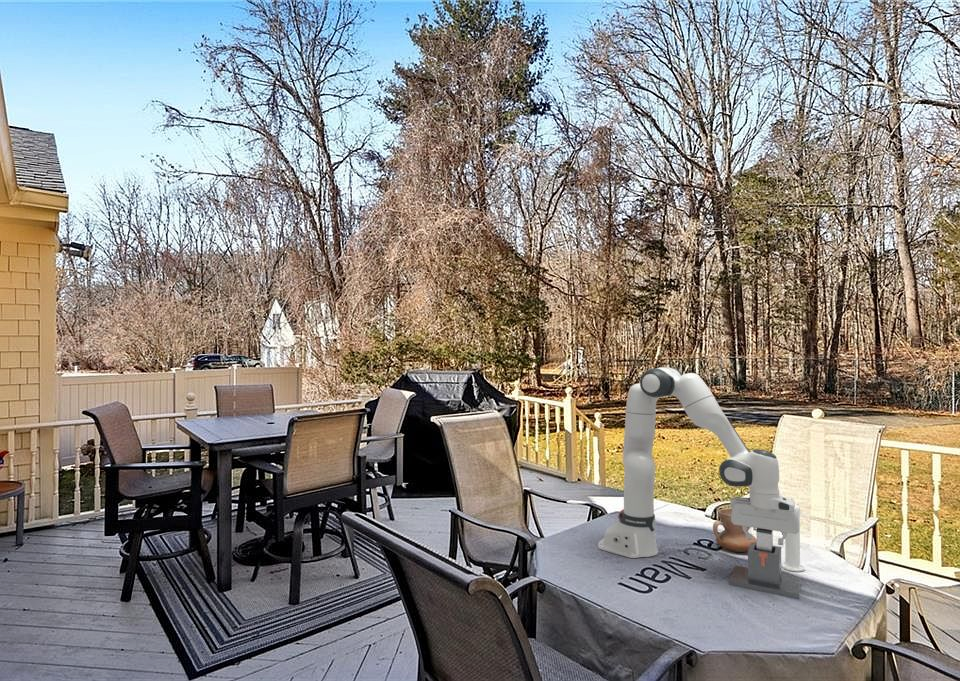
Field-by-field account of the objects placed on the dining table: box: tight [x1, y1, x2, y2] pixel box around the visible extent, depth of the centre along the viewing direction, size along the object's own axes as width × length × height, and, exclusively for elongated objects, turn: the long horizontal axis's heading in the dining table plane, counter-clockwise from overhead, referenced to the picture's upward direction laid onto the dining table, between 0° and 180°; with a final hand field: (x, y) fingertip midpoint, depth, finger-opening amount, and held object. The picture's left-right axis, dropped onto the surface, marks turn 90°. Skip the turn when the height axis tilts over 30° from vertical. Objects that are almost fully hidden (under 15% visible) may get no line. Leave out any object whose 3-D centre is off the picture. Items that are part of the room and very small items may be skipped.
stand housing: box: [728, 542, 802, 599], centre depth 187 cm, size 20×14×12 cm
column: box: [755, 528, 774, 553], centre depth 187 cm, size 5×5×16 cm
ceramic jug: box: [712, 507, 757, 553], centre depth 218 cm, size 18×14×14 cm
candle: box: [781, 496, 805, 573], centre depth 199 cm, size 7×7×25 cm
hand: (764, 542), depth 187 cm, fingers open, 8 cm apart
